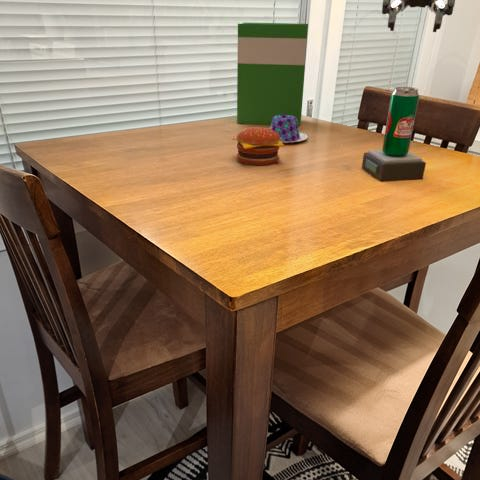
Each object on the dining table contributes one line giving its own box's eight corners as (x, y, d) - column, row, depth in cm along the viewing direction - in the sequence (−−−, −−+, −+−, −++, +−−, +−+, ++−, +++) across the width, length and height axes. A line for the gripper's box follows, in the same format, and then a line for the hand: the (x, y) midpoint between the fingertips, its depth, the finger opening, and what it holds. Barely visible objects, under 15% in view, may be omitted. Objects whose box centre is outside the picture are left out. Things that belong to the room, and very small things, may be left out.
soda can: (392, 158, 96) (404, 91, 89) (376, 152, 100) (386, 87, 93) (413, 156, 98) (426, 89, 91) (396, 150, 101) (408, 85, 95)
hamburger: (245, 167, 103) (245, 134, 99) (230, 156, 110) (230, 124, 107) (286, 163, 105) (288, 131, 102) (269, 152, 113) (271, 122, 109)
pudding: (270, 131, 131) (271, 110, 128) (314, 136, 126) (316, 114, 123) (252, 141, 121) (252, 118, 119) (298, 147, 117) (300, 124, 114)
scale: (401, 166, 105) (404, 147, 103) (422, 179, 98) (426, 159, 96) (360, 168, 103) (362, 149, 101) (379, 181, 96) (382, 161, 94)
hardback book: (300, 120, 143) (308, 23, 130) (300, 125, 137) (307, 24, 124) (240, 117, 145) (241, 22, 132) (237, 123, 139) (237, 23, 126)
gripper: (392, -53, 103) (379, 13, 100) (465, -54, 100) (453, 14, 97) (389, -22, 110) (377, 41, 107) (457, -22, 107) (446, 43, 104)
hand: (413, 28), depth 102 cm, fingers open, 8 cm apart
